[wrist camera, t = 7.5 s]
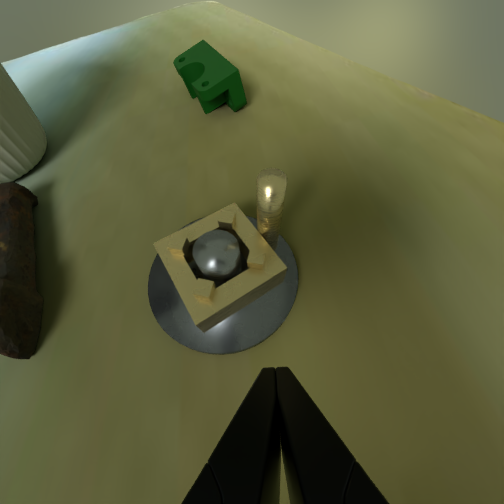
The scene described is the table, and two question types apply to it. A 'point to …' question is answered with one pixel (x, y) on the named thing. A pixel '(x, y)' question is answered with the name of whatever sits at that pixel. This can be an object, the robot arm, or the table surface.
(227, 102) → the green mounting bracket
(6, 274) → the dark brown log
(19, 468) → the table surface
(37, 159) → the canister
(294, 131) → the table surface
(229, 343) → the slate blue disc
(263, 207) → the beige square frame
